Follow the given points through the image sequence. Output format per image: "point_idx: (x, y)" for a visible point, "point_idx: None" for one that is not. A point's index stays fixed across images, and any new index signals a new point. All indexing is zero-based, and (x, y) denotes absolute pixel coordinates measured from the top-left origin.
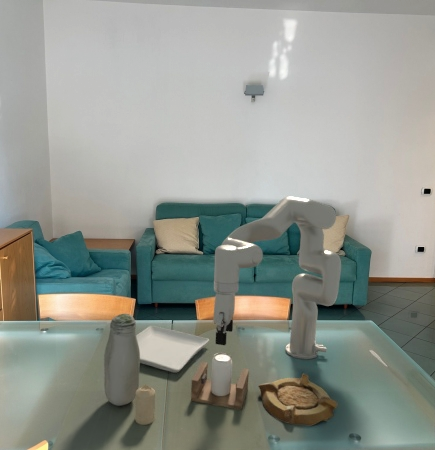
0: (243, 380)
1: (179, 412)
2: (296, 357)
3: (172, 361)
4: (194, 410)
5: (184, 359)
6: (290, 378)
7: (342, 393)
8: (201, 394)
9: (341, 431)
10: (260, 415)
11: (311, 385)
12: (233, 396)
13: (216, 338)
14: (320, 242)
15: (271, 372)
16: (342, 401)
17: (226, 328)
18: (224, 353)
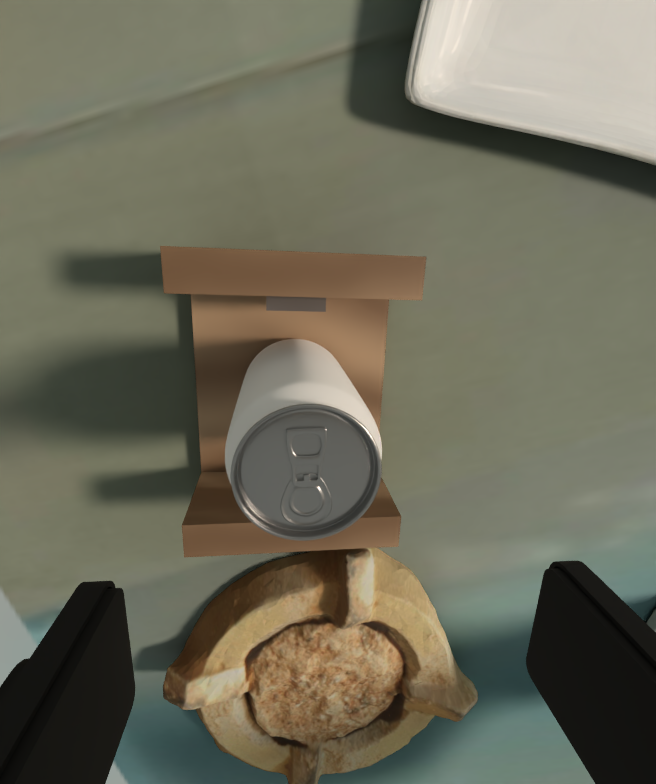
0: (270, 544)
1: (64, 220)
2: (650, 619)
3: (562, 17)
4: (115, 293)
5: (588, 98)
6: (441, 655)
7: (423, 763)
8: (236, 300)
9: (203, 781)
10: (194, 563)
11: (407, 722)
12: None
13: (31, 671)
14: None
15: (524, 549)
16: (374, 767)
17: (561, 641)
18: (376, 475)
